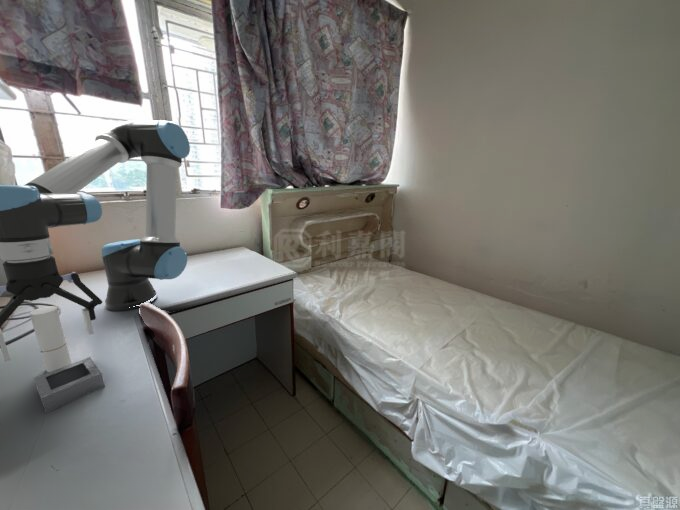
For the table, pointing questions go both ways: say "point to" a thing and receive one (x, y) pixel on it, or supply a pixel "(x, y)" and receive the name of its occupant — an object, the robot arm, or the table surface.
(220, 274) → the table surface
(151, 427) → the table surface
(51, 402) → the gray square frame
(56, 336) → the tube
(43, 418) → the table surface
